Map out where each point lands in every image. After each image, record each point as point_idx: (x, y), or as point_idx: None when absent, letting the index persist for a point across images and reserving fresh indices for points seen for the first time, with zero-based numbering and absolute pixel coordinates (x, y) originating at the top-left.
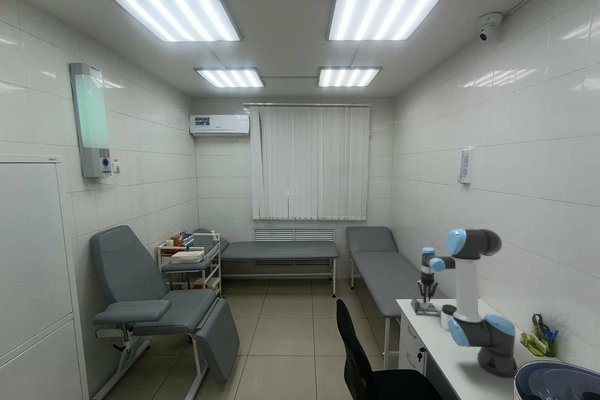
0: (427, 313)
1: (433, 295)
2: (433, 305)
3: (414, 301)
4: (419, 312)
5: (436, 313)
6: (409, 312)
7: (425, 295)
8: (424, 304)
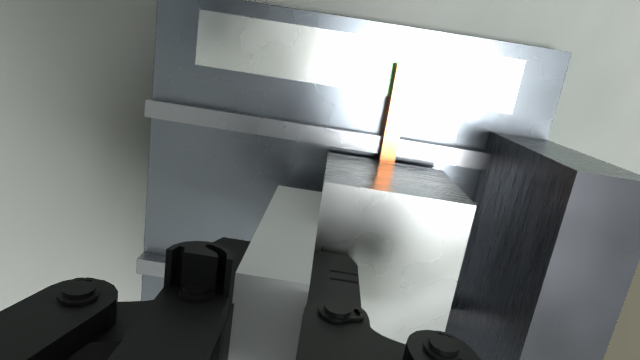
0: (365, 34)
1: (37, 296)
2: (150, 264)
3: (632, 239)
4: (501, 68)
5: (203, 20)
6: (621, 143)
7: (332, 335)
8: (372, 182)
